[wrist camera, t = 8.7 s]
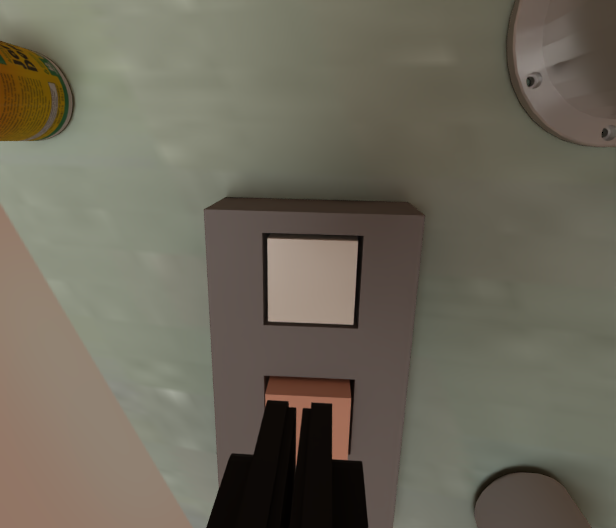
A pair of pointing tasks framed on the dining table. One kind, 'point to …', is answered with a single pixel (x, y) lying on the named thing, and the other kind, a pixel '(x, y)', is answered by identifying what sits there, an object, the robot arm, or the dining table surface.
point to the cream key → (311, 278)
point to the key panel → (316, 327)
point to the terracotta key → (316, 391)
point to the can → (527, 504)
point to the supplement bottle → (31, 96)
